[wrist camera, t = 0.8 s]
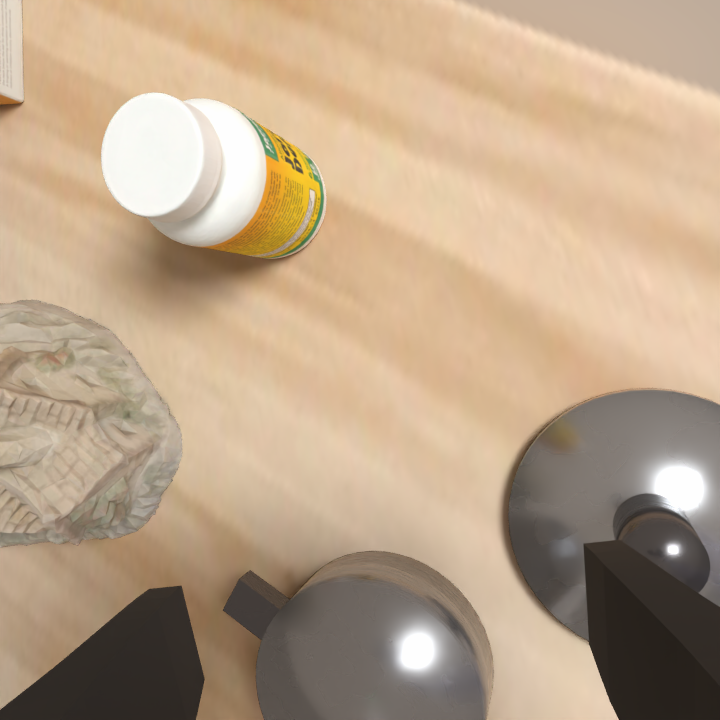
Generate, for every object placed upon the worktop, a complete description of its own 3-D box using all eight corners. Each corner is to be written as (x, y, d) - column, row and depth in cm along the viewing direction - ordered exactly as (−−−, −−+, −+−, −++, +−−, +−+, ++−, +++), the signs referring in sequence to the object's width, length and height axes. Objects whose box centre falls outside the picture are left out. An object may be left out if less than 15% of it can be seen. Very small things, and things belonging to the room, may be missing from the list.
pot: (583, 670, 26) (585, 722, 23) (466, 832, 28) (453, 901, 25) (308, 484, 30) (276, 506, 26) (223, 642, 32) (184, 680, 29)
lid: (871, 484, 23) (942, 525, 18) (698, 703, 25) (726, 785, 21) (596, 337, 25) (602, 343, 21) (464, 548, 28) (445, 592, 24)
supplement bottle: (210, 225, 30) (58, 188, 21) (260, 125, 29) (121, 40, 20) (295, 281, 29) (173, 267, 20) (351, 179, 28) (248, 115, 19)
